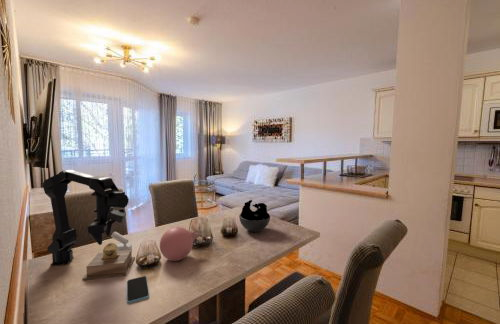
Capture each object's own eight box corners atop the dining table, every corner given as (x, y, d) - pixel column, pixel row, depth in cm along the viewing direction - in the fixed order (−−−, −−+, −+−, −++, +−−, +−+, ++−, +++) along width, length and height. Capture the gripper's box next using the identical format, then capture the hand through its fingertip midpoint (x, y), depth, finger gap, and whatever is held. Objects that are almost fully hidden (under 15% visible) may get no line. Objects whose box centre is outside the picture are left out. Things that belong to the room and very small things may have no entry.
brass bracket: (116, 267, 101) (115, 244, 100) (103, 268, 100) (102, 245, 99) (117, 264, 103) (117, 242, 102) (105, 266, 102) (104, 243, 101)
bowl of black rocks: (271, 237, 138) (271, 207, 136) (238, 236, 138) (238, 206, 137) (268, 225, 158) (269, 198, 156) (239, 224, 158) (240, 198, 157)
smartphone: (146, 275, 96) (149, 295, 83) (146, 278, 96) (149, 298, 83) (126, 280, 93) (126, 302, 79) (126, 282, 93) (126, 305, 80)
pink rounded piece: (206, 257, 112) (206, 227, 111) (165, 270, 100) (164, 237, 99) (194, 246, 125) (194, 218, 123) (156, 256, 113) (155, 226, 112)
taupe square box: (125, 275, 96) (125, 264, 96) (82, 280, 93) (81, 268, 92) (134, 258, 111) (134, 248, 110) (97, 261, 107) (97, 251, 107)
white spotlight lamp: (118, 228, 123) (134, 230, 121) (119, 245, 124) (135, 247, 122) (105, 234, 115) (122, 236, 113) (106, 253, 116) (123, 255, 114)
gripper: (116, 211, 93) (117, 248, 94) (129, 200, 111) (130, 231, 113) (85, 212, 91) (86, 250, 92) (104, 200, 109) (104, 232, 110)
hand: (104, 240), depth 102 cm, fingers open, 9 cm apart
